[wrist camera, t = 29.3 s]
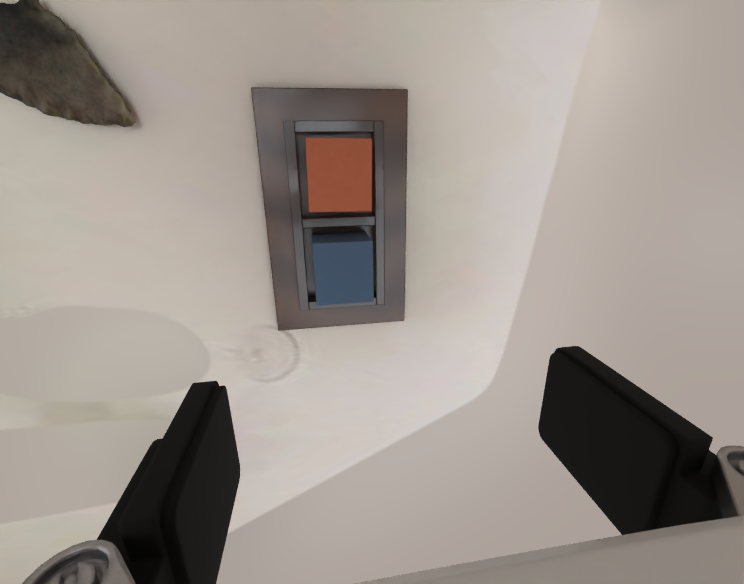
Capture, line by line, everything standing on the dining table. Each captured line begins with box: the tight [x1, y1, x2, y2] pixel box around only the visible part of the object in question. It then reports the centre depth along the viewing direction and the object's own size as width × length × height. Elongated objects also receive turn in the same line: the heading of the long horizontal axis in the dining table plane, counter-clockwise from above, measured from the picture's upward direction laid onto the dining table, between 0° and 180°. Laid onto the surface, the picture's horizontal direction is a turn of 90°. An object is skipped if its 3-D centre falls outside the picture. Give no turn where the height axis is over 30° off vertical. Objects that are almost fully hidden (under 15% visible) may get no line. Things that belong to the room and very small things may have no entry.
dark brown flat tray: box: [251, 87, 408, 330], centre depth 31 cm, size 20×12×2 cm, turn 2°
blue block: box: [312, 231, 374, 306], centre depth 31 cm, size 5×5×4 cm
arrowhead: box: [0, 0, 136, 127], centre depth 25 cm, size 7×10×1 cm
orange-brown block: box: [305, 138, 372, 212], centre depth 28 cm, size 5×5×4 cm
